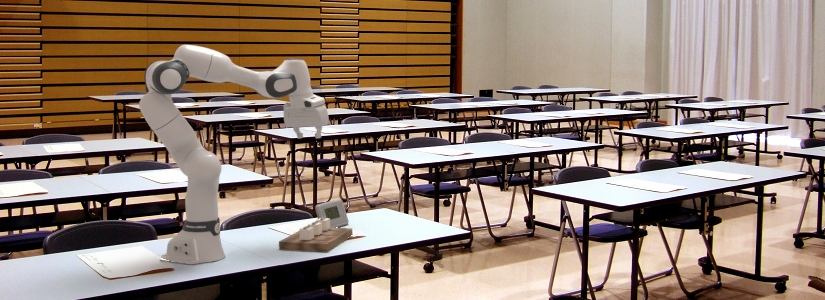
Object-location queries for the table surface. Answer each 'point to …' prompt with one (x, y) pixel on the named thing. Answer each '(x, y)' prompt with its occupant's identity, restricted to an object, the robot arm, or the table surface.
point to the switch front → (306, 233)
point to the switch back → (324, 223)
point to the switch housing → (316, 240)
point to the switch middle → (316, 227)
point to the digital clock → (333, 212)
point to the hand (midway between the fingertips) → (309, 138)
